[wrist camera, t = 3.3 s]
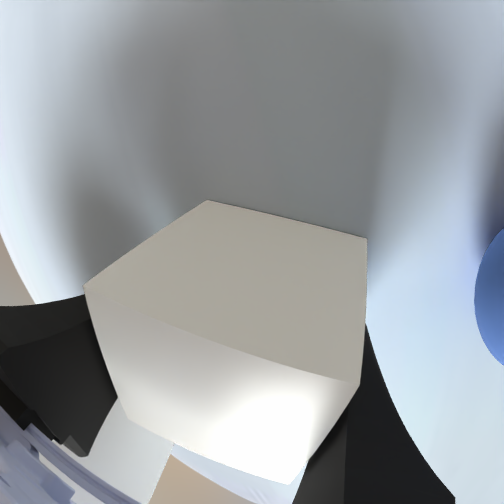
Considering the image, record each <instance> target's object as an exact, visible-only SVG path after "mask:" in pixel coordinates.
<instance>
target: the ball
mask: <svg viewBox="0 0 504 504" xmlns="http://www.w3.org/2000/svg"><path fill="white" fill-rule="evenodd" d="M474 304H475V315H476V320H477V324H478V328H479V331H480V334H481V336H482V339H483V341H484V343H485V345H486V346H487V348H488V349H489V351H490V352H491V354H492V355H493V356H494V357H495V358H496V359H497V360H498V361H499V362H500V363H501V364H502V365H504V228H503V229H502V230H501V231H500V232H499V233H498V234H497V235H496V237H495V238H494V239H493V241H492V242H491V243H490V245H489V247H488V248H487V250H486V252H485V254H484V256H483V258H482V261H481V264H480V267H479V271H478V274H477V278H476V284H475V297H474Z"/></svg>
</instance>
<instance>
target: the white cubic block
mask: <svg viewBox="0 0 504 504" xmlns="http://www.w3.org/2000/svg"><path fill="white" fill-rule="evenodd" d="M83 289H84V293H85V297H86V301H87V305H88V309H89V312H90V316H91V319H92V323H93V326H94V330H95V333H96V336H97V339H98V343H99V346H100V349H101V352H102V355H103V358H104V360H105V363H106V366H107V369H108V372H109V374H110V377H111V380H112V382H113V385H114V388H115V390H116V393H117V395H118V398H119V400H120V402H121V405H122V407H123V409H124V412H125V414H126V416H127V419H129V420H131V421H133V422H134V423H136V424H138V425H140V426H142V427H143V428H145V429H147V430H149V431H151V432H153V433H155V434H157V435H159V436H161V437H163V438H165V439H167V440H169V441H171V442H173V443H175V444H177V445H179V446H181V447H184V448H186V449H188V450H190V451H193V452H195V453H197V454H200V455H202V456H204V457H207V458H209V459H212V460H214V461H217V462H219V463H222V464H225V465H227V466H230V467H233V468H236V469H239V470H241V471H244V472H247V473H250V474H253V475H257V476H260V477H263V478H266V479H270V480H273V481H277V482H280V483H284V484H288V485H289V484H290V483H291V481H292V480H293V479H294V478H295V477H296V475H297V474H298V473H299V472H300V470H301V469H302V468H303V467H304V465H305V464H306V463H307V462H308V460H309V459H310V458H311V456H312V455H313V454H314V452H315V451H316V450H317V448H318V447H319V446H320V444H321V443H322V442H323V440H324V439H325V437H326V436H327V435H328V433H329V432H330V430H331V429H332V427H333V426H334V424H335V423H336V422H337V420H338V419H339V417H340V416H341V414H342V413H343V411H344V409H345V408H346V406H347V405H348V403H349V402H350V400H351V398H352V397H353V395H354V394H355V392H356V390H357V389H358V387H359V385H360V378H361V368H362V358H363V347H364V334H365V318H366V297H367V239H366V238H362V237H358V236H355V235H351V234H347V233H343V232H340V231H336V230H332V229H328V228H324V227H320V226H316V225H312V224H308V223H304V222H300V221H296V220H292V219H288V218H284V217H280V216H275V215H271V214H267V213H263V212H258V211H254V210H250V209H245V208H241V207H237V206H232V205H228V204H223V203H219V202H214V201H209V200H206V201H204V202H203V203H201V204H200V205H198V206H196V207H195V208H193V209H192V210H190V211H189V212H187V213H186V214H184V215H182V216H181V217H179V218H178V219H176V220H175V221H173V222H172V223H170V224H169V225H167V226H166V227H164V228H163V229H161V230H160V231H158V232H157V233H155V234H154V235H152V236H151V237H149V238H148V239H146V240H145V241H144V242H142V243H141V244H139V245H138V246H136V247H135V248H133V249H132V250H131V251H129V252H128V253H126V254H125V255H123V256H122V257H121V258H119V259H118V260H116V261H115V262H114V263H112V264H111V265H109V266H108V267H107V268H105V269H104V270H103V271H101V272H100V273H99V274H97V275H96V276H94V277H93V278H92V279H90V280H89V281H88V282H86V283H85V284H84V285H83Z"/></svg>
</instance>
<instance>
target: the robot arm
mask: <svg viewBox="0 0 504 504" xmlns="http://www.w3.org/2000/svg"><path fill="white" fill-rule="evenodd" d="M117 398H118V395H117V393H116V390H115V388H114V385H113V382H112V380H111V377H110V374H109V372H108V369H107V366H106V363H105V360H104V358H103V355H102V352H101V349H100V346H99V343H98V339H97V336H96V333H95V330H94V326H93V323H92V319H91V316H90V312H89V309H88V305H87V301H86V297H85V294H84V295H81V296H77V297H73V298H69V299H65V300H59V301H54V302H48V303H43V304H35V305H25V306H0V504H76V503H75V502H74V501H72V500H71V498H72V496H73V495H74V494H75V490H74V489H73V488H72V487H70V486H69V485H68V484H67V483H66V482H64V481H63V480H62V479H61V478H59V477H58V476H57V475H56V474H55V473H53V472H52V471H51V470H50V469H49V468H47V467H46V466H45V465H44V464H43V463H42V462H41V461H40V460H39V452H40V453H41V454H42V455H43V456H44V457H45V458H46V459H47V460H48V461H50V462H51V463H52V464H53V465H54V466H55V467H57V468H58V469H59V470H60V471H61V472H63V473H64V474H65V475H66V476H68V477H69V478H70V479H71V480H73V481H74V482H75V483H77V484H78V485H79V486H81V487H82V488H83V489H85V490H86V491H87V492H89V493H90V494H92V495H93V496H95V497H96V498H97V499H99V500H100V501H102V502H103V503H105V504H141V503H140V502H138V501H136V500H134V499H133V498H131V497H129V496H127V495H126V494H124V493H122V492H121V491H119V490H117V489H116V488H114V487H113V486H111V485H110V484H108V483H107V482H105V481H103V480H102V479H100V478H99V477H98V476H96V475H95V474H93V473H92V472H90V471H89V470H88V469H86V468H85V467H83V466H82V465H81V464H79V463H78V462H77V461H75V460H74V459H73V458H72V457H70V456H69V455H68V454H66V453H65V452H64V451H63V450H62V449H60V448H59V447H58V446H57V445H56V444H54V443H53V442H52V440H53V439H54V440H55V441H56V442H57V443H58V444H60V445H62V444H63V445H64V446H65V447H67V448H68V449H69V450H70V451H72V452H73V453H74V454H76V455H77V456H78V457H86V456H88V455H89V453H90V450H91V448H92V446H93V443H94V441H95V439H96V437H97V435H98V433H99V431H100V429H101V427H102V425H103V423H104V421H105V419H106V417H107V415H108V414H109V412H110V410H111V408H112V407H113V405H114V403H115V402H116V400H117ZM38 451H39V452H38ZM292 504H455V497H454V496H453V494H452V493H451V492H450V491H449V490H448V489H447V487H446V486H445V485H444V484H443V483H442V481H441V480H440V479H439V478H438V477H437V475H436V474H435V473H434V471H433V470H432V469H431V467H430V466H429V465H428V463H427V462H426V460H425V459H424V457H423V456H422V454H421V453H420V451H419V450H418V448H417V446H416V445H415V443H414V441H413V440H412V438H411V437H410V435H409V433H408V431H407V430H406V428H405V426H404V424H403V422H402V420H401V418H400V416H399V414H398V412H397V410H396V408H395V406H394V403H393V401H392V399H391V397H390V394H389V392H388V389H387V387H386V384H385V382H384V379H383V376H382V373H381V371H380V368H379V365H378V362H377V359H376V356H375V353H374V350H373V347H372V343H371V340H370V336H369V333H368V329H367V326H366V324H365V334H364V347H363V358H362V368H361V378H360V385H359V387H358V389H357V390H356V392H355V394H354V395H353V397H352V398H351V400H350V402H349V403H348V405H347V406H346V408H345V409H344V411H343V413H342V414H341V416H340V417H339V419H338V420H337V422H336V423H335V424H334V426H333V427H332V429H331V430H330V432H329V433H328V435H327V436H326V437H325V439H324V440H323V442H322V443H321V444H320V446H319V447H318V448H317V450H316V451H315V452H314V454H313V455H312V456H311V458H310V459H309V460H308V463H307V466H306V469H305V472H304V475H303V478H302V480H301V483H300V486H299V488H298V491H297V493H296V496H295V498H294V501H293V503H292Z"/></svg>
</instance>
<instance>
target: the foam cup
mask: <svg viewBox="0 0 504 504" xmlns="http://www.w3.org/2000/svg"><path fill="white" fill-rule="evenodd" d="M52 442H53V443H54V444H56V445H57V446H58V447H59V448H60V449H62V450H63V451H64V452H65V453H66V454H68V455H69V456H70V457H72V458H73V459H74V460H75V461H77V462H78V463H79V464H81V465H82V466H83V467H85V468H86V469H88V470H89V471H90V472H92V473H93V474H95V475H96V476H98V477H99V478H100V479H102V480H103V481H105V482H107V483H108V484H110V485H111V486H113V487H114V488H116V489H117V490H119V491H121V492H122V493H124V494H126V495H127V496H129V497H131V498H133V499H134V500H136V501H138V502H140V503H141V504H148V503H149V501H150V499H151V496H152V494H153V492H154V490H155V487H156V485H157V483H158V480H159V478H160V476H161V473H162V471H163V469H164V467H165V464H166V462H167V460H168V458H169V455H170V453H171V451H172V448H173V446H174V444H175V443H173V442H171V441H169V440H167V439H165V438H163V437H161V436H159V435H157V434H155V433H153V432H151V431H149V430H147V429H145V428H143V427H142V426H140V425H138V424H136V423H134V422H133V421H131V420H129V419H127V416H126V414H125V412H124V409H123V407H122V405H121V402H120V400H119V398H117V400H116V402H115V403H114V405H113V407H112V408H111V410H110V412H109V414H108V415H107V417H106V419H105V421H104V423H103V425H102V427H101V429H100V431H99V433H98V435H97V437H96V439H95V441H94V443H93V446H92V448H91V450H90V453H89V455H88V456H86V457H78V456H77V455H76V454H74V453H73V452H72V451H70V450H69V449H68V448H67V447H65V446H64V445H63V444H62V445H60V444H58V443H57V442H56V441H55V440H54V439H53V440H52ZM38 452H39V451H38ZM39 460H40V461H41V462H42V463H43V464H44V465H45V466H46V467H47V468H49V469H50V470H51V471H52V472H53V473H55V474H56V475H57V476H58V477H59V478H61V479H62V480H63V481H64V482H66V483H67V484H68V485H69V486H70V487H72V488H73V489H74V490H75V494H74V495H73V496H72V498H71V500H72V501H74V502H75V503H76V504H105V503H103V502H102V501H100V500H99V499H97V498H96V497H95V496H93V495H92V494H90V493H89V492H87V491H86V490H85V489H83V488H82V487H81V486H79V485H78V484H77V483H75V482H74V481H73V480H71V479H70V478H69V477H68V476H66V475H65V474H64V473H63V472H61V471H60V470H59V469H58V468H57V467H55V466H54V465H53V464H52V463H51V462H50V461H48V460H47V459H46V458H45V457H44V456H43V455H42V454H41V453H40V452H39Z"/></svg>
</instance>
